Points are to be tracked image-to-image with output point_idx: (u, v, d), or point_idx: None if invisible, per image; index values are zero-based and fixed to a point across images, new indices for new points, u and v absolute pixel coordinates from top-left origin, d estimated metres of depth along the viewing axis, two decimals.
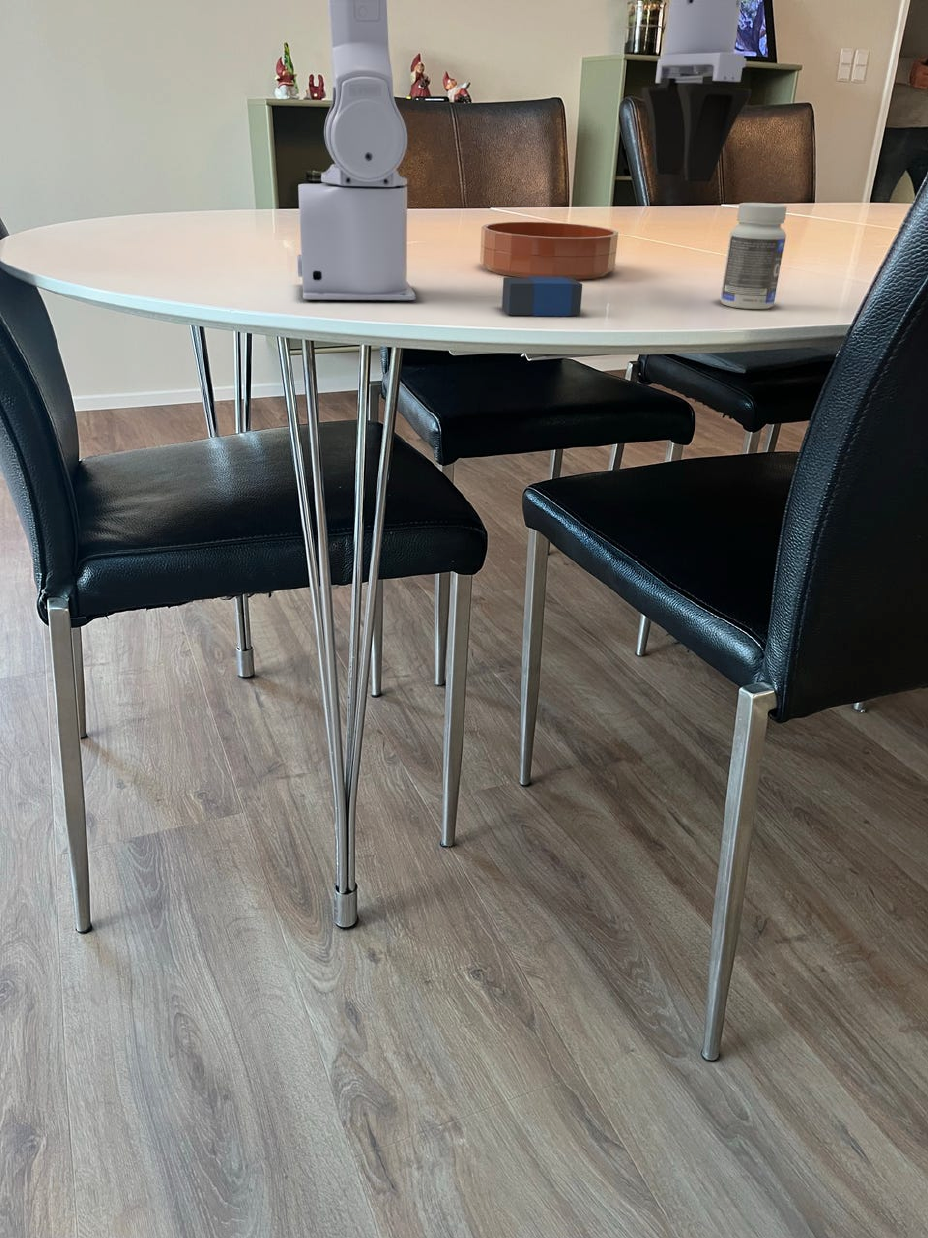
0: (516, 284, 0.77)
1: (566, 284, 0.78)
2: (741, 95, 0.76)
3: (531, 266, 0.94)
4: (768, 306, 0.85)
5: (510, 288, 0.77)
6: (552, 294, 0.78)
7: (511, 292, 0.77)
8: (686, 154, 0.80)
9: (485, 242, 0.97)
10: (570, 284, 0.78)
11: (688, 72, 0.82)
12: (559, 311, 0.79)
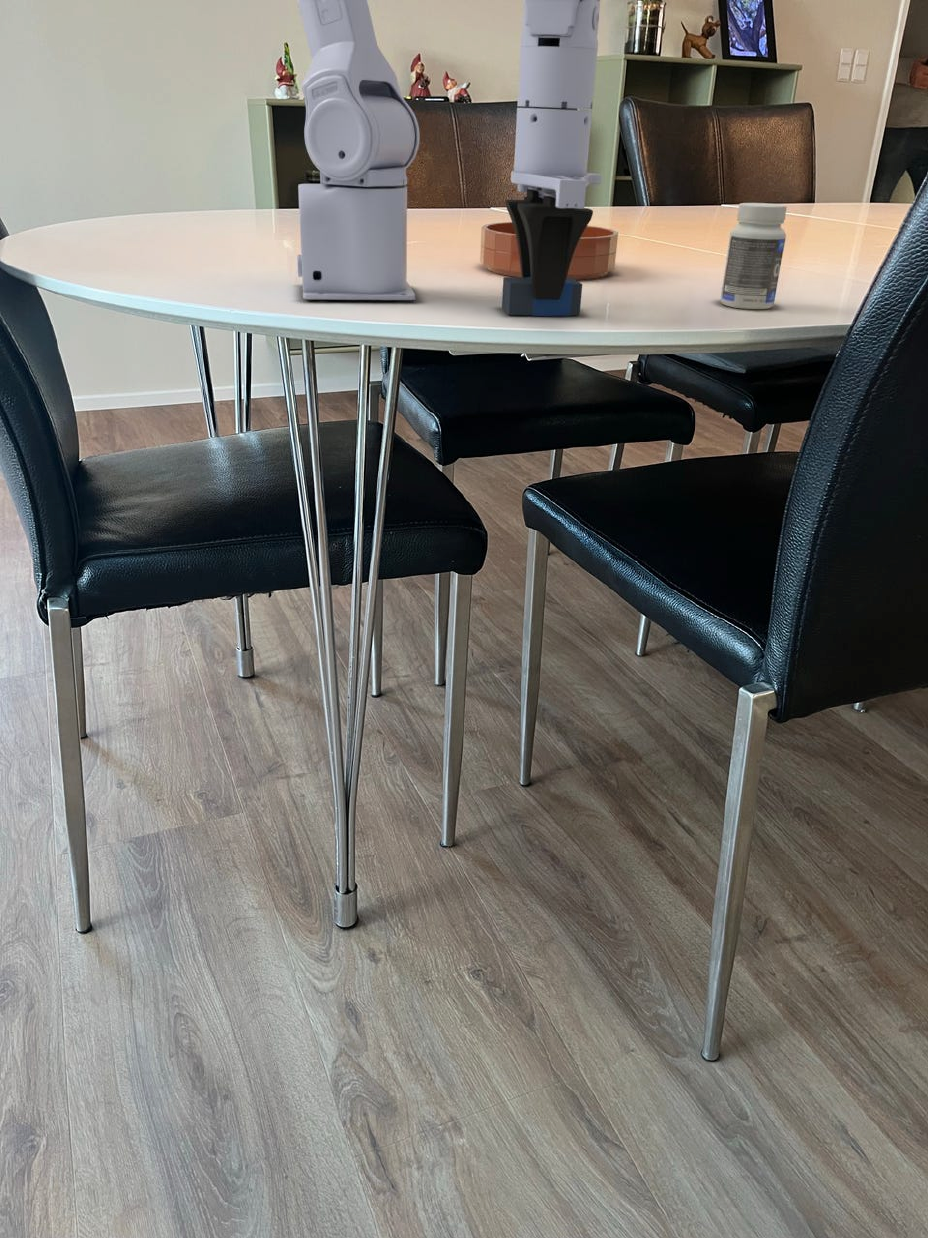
0: (516, 284, 0.77)
1: (566, 284, 0.78)
2: (581, 217, 0.73)
3: None
4: (768, 306, 0.85)
5: (510, 288, 0.77)
6: None
7: (511, 292, 0.77)
8: (531, 273, 0.76)
9: (485, 242, 0.97)
10: (570, 284, 0.78)
11: None
12: (559, 311, 0.79)
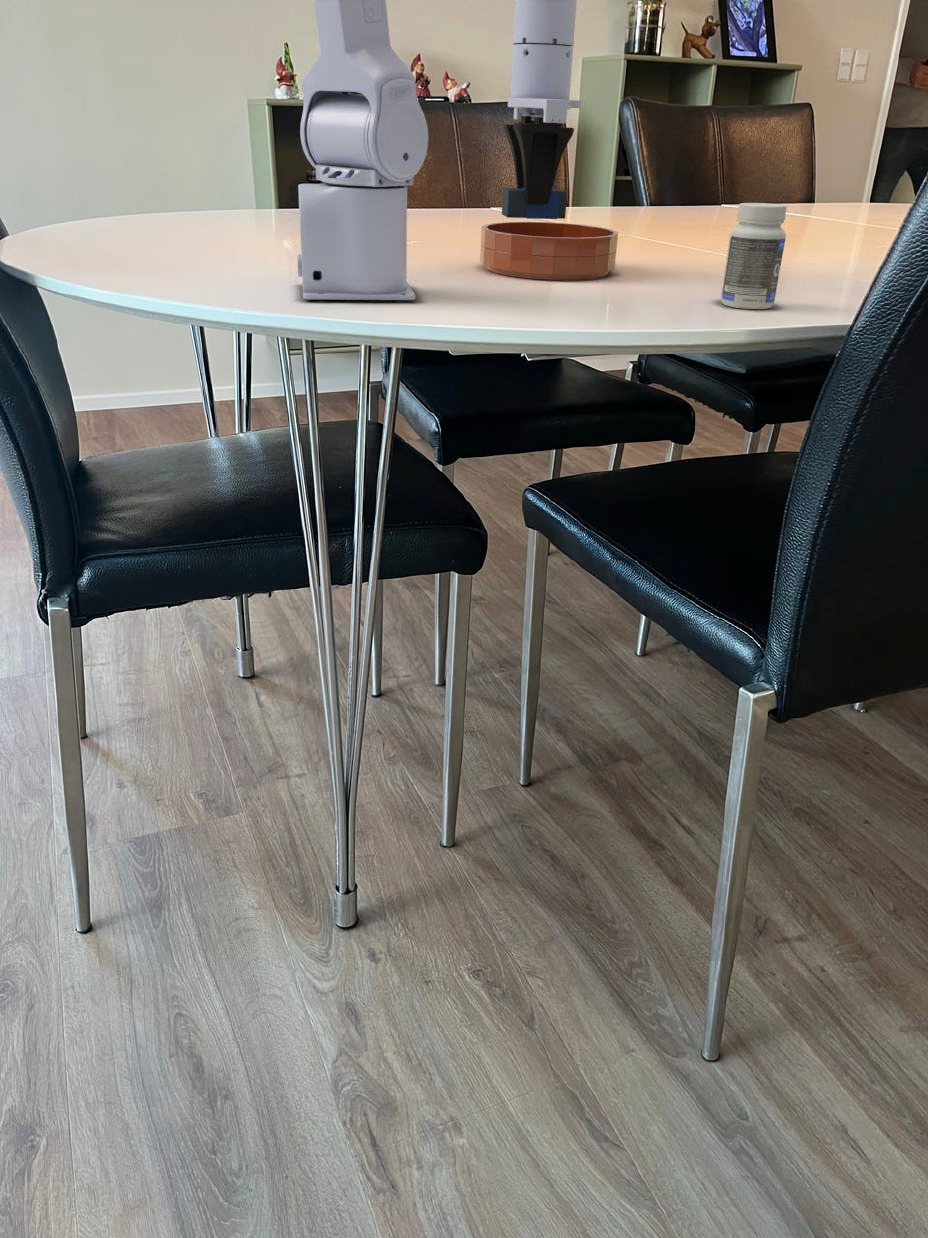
0: (513, 191, 0.95)
1: (554, 191, 0.96)
2: (565, 133, 0.91)
3: (531, 266, 0.94)
4: (768, 306, 0.85)
5: (508, 194, 0.95)
6: None
7: (509, 198, 0.95)
8: (524, 181, 0.94)
9: (485, 242, 0.97)
10: (557, 191, 0.96)
11: None
12: (548, 214, 0.96)
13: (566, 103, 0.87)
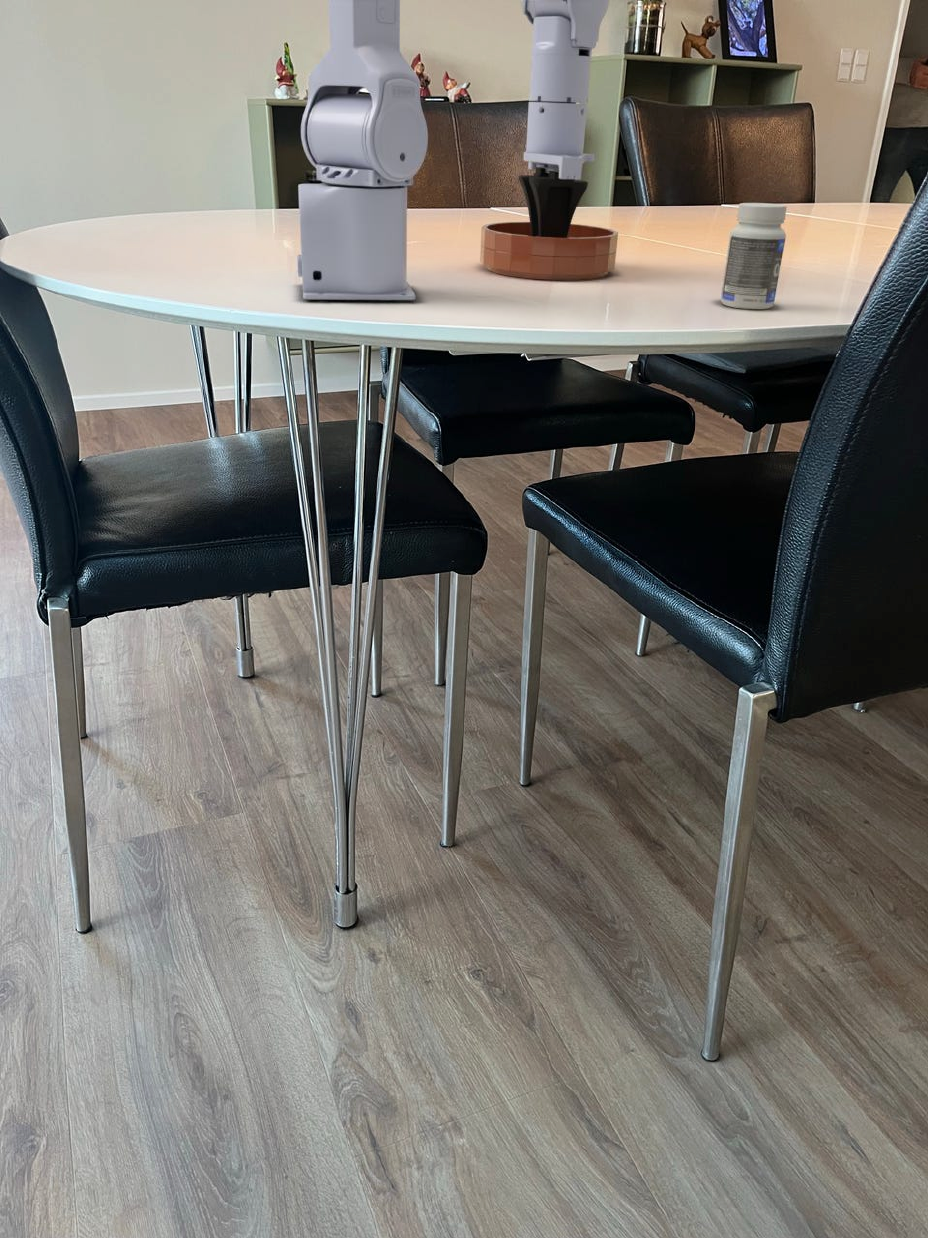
0: None
1: None
2: (579, 187, 0.94)
3: (531, 266, 0.94)
4: (768, 306, 0.85)
5: None
6: None
7: None
8: (539, 232, 0.97)
9: (485, 242, 0.97)
10: None
11: None
12: None
13: (581, 160, 0.90)
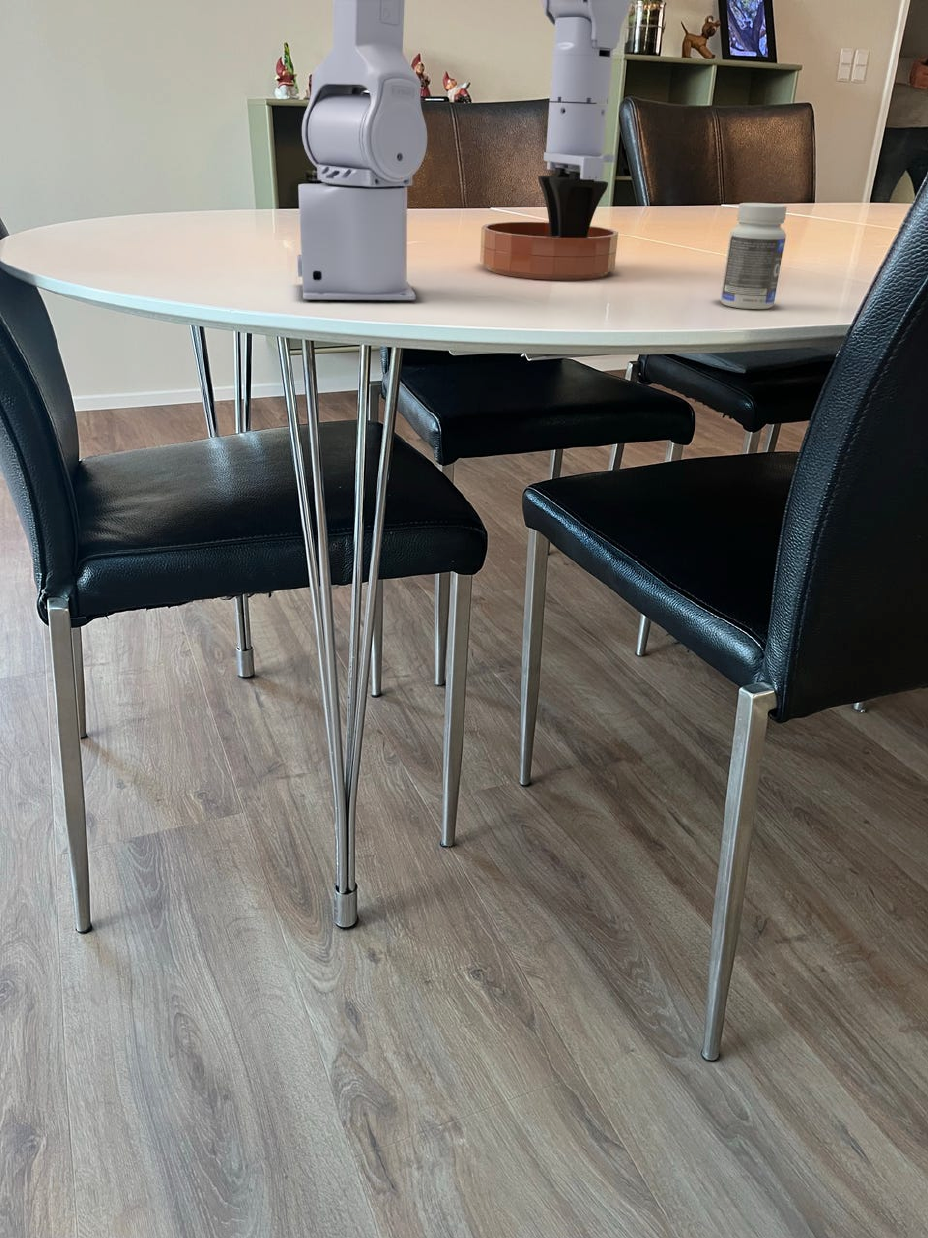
0: None
1: None
2: (599, 187, 0.94)
3: (531, 266, 0.94)
4: (768, 306, 0.85)
5: None
6: None
7: None
8: (559, 232, 0.97)
9: (485, 242, 0.97)
10: None
11: (569, 164, 0.98)
12: None
13: (602, 161, 0.90)
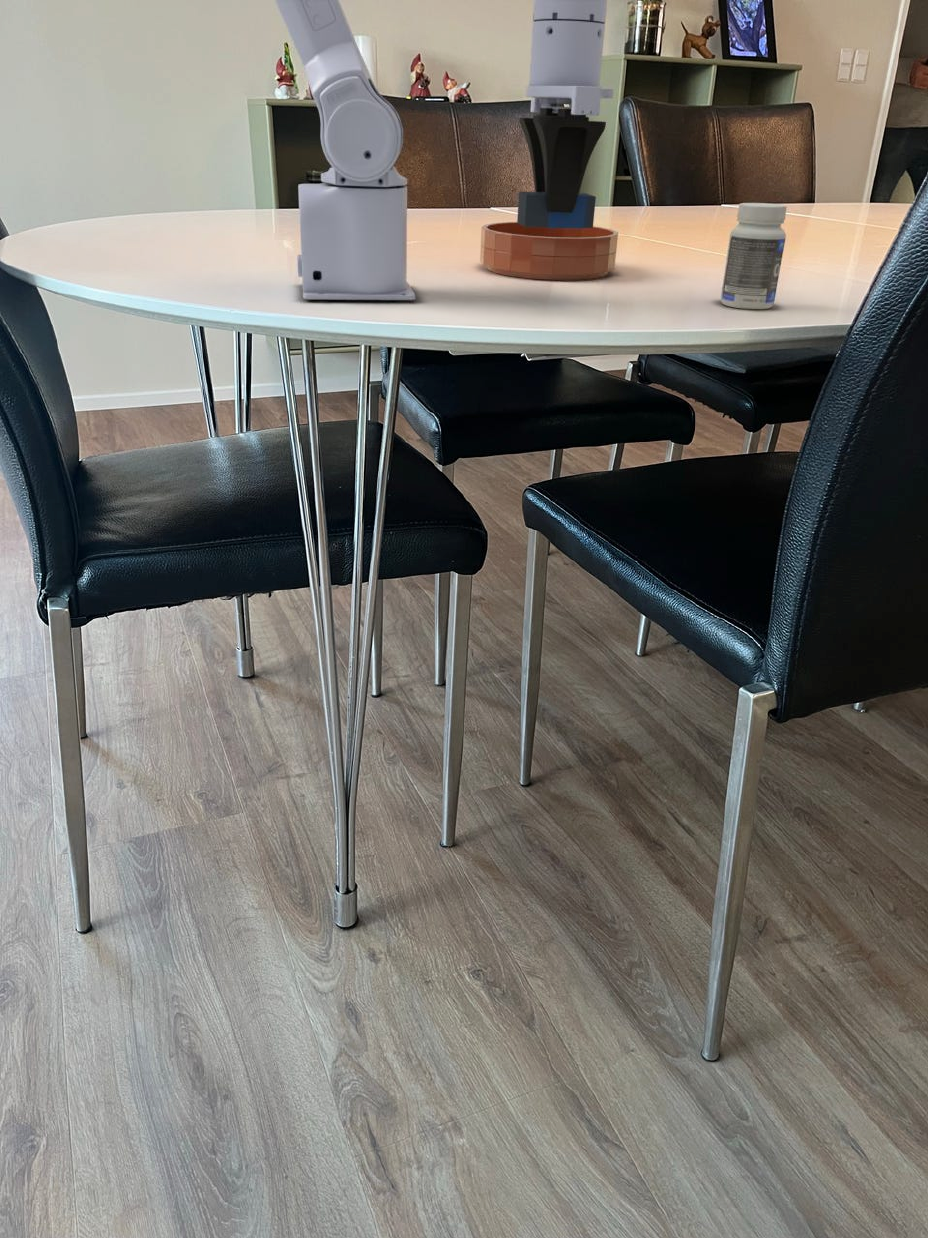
0: (532, 195, 0.80)
1: (580, 196, 0.81)
2: (595, 128, 0.76)
3: (531, 266, 0.94)
4: (768, 306, 0.85)
5: (526, 199, 0.80)
6: None
7: (527, 203, 0.80)
8: (546, 186, 0.79)
9: (485, 242, 0.97)
10: (584, 196, 0.81)
11: None
12: (573, 223, 0.81)
13: (599, 91, 0.72)
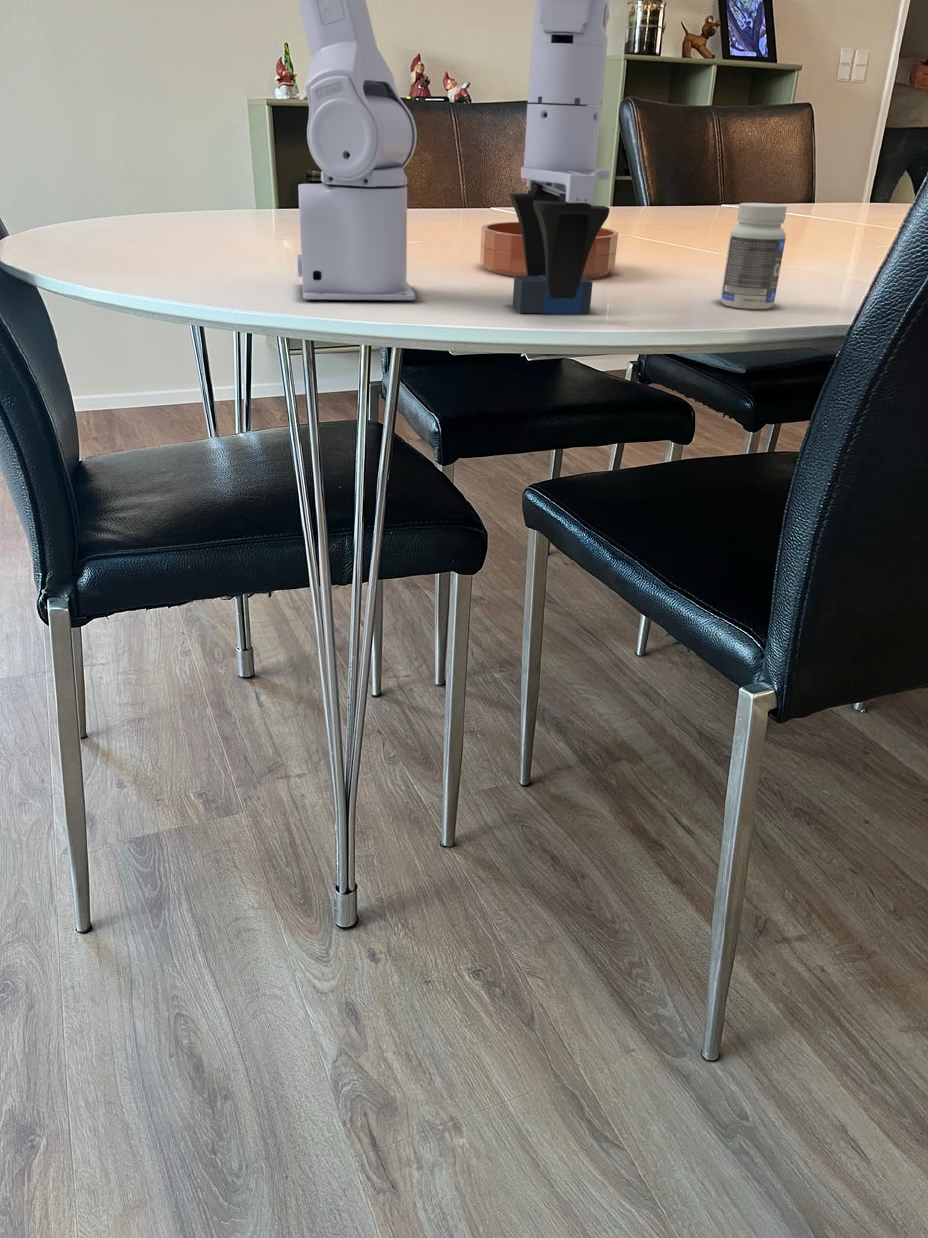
0: (527, 282, 0.78)
1: None
2: (598, 215, 0.72)
3: None
4: (768, 306, 0.85)
5: (521, 286, 0.78)
6: None
7: (522, 290, 0.78)
8: (546, 272, 0.76)
9: (485, 242, 0.97)
10: (580, 282, 0.79)
11: None
12: (569, 309, 0.80)
13: (594, 179, 0.70)
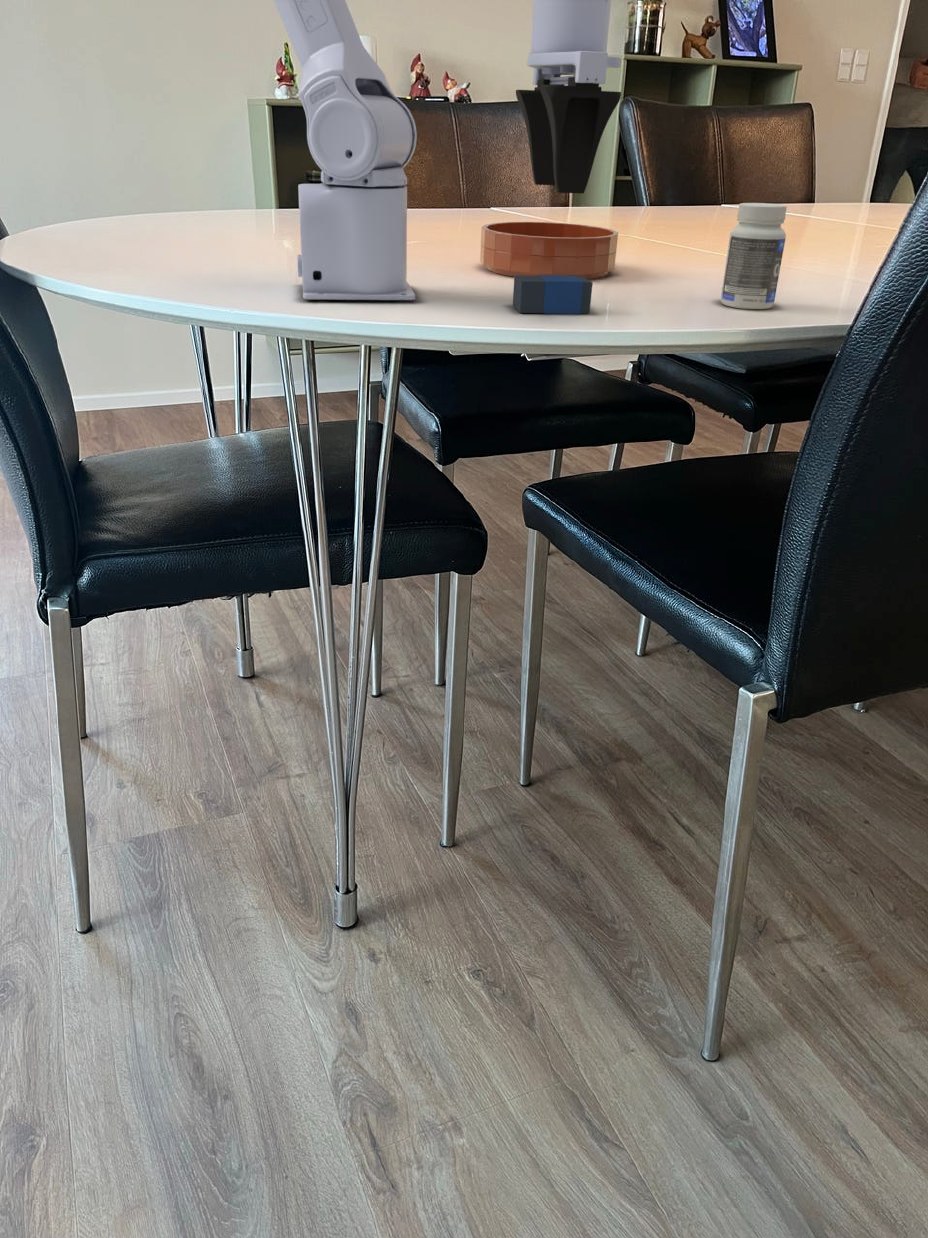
0: (527, 282, 0.78)
1: (576, 282, 0.79)
2: (609, 98, 0.69)
3: (531, 266, 0.94)
4: (768, 306, 0.85)
5: (521, 286, 0.78)
6: (563, 292, 0.79)
7: (522, 290, 0.78)
8: (554, 163, 0.72)
9: (485, 242, 0.97)
10: (580, 282, 0.79)
11: (561, 73, 0.75)
12: (569, 308, 0.80)
13: (605, 57, 0.66)
